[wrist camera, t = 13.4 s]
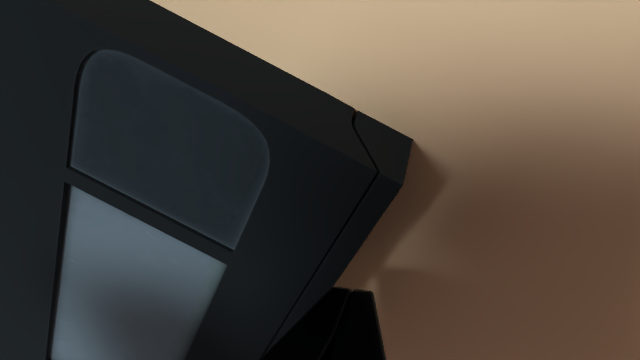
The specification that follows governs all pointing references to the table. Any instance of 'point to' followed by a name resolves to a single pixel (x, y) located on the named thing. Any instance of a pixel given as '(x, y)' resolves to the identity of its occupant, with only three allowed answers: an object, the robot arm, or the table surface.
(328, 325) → the robot arm
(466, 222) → the table surface
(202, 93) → the vhs tape
